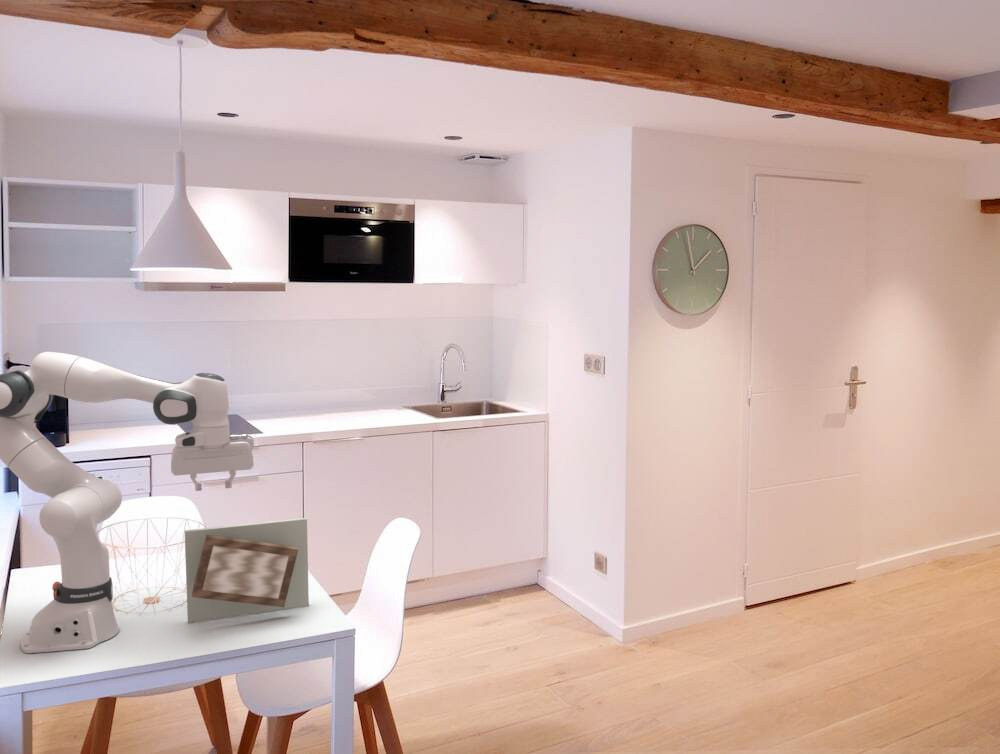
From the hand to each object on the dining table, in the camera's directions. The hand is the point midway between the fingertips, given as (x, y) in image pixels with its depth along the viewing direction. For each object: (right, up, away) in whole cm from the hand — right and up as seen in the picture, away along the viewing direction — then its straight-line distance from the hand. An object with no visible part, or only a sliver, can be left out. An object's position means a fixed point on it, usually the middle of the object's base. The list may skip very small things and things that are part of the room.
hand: (213, 489), depth 225 cm
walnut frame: (+5, -30, +5) cm, 31 cm away
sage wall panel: (+6, -36, +12) cm, 39 cm away
